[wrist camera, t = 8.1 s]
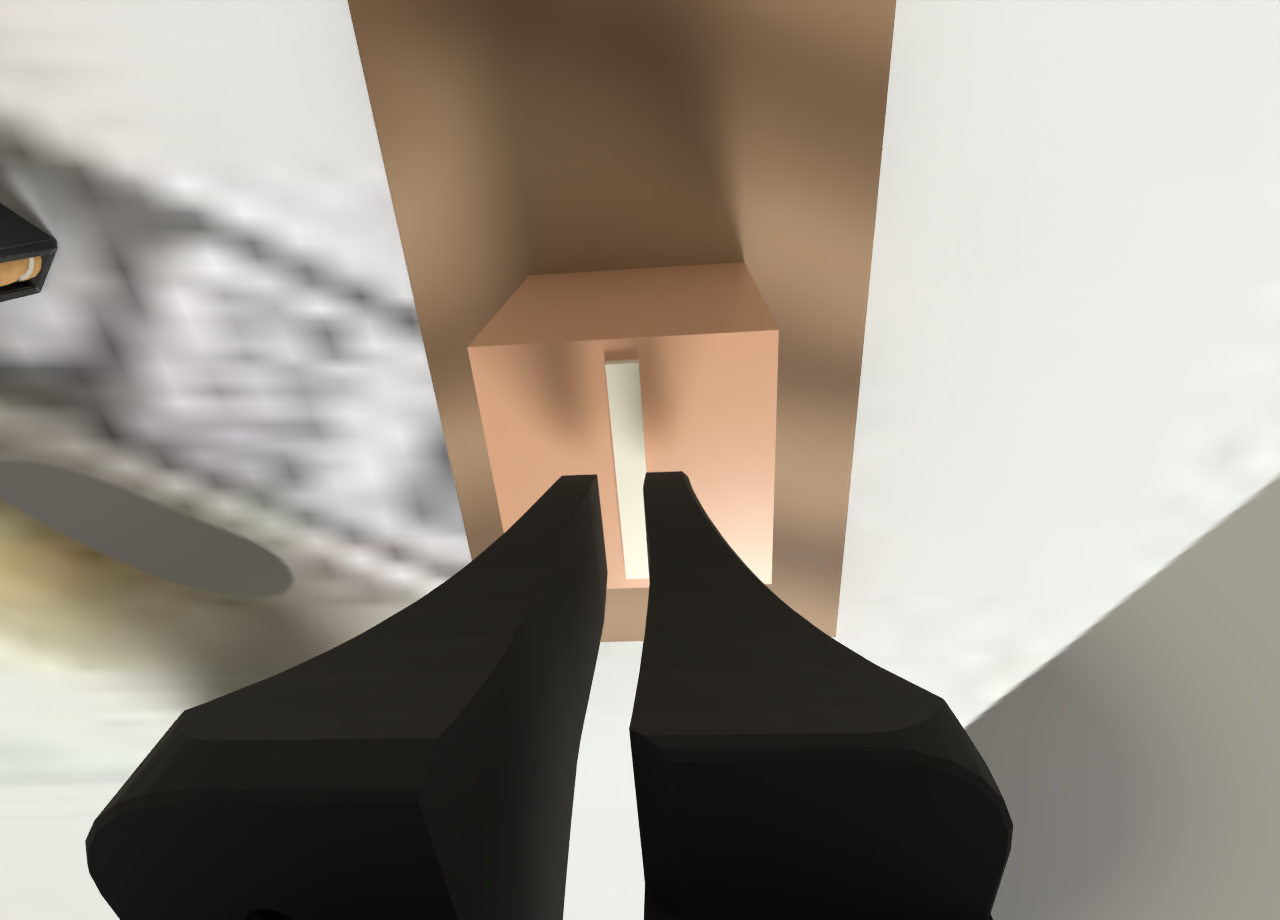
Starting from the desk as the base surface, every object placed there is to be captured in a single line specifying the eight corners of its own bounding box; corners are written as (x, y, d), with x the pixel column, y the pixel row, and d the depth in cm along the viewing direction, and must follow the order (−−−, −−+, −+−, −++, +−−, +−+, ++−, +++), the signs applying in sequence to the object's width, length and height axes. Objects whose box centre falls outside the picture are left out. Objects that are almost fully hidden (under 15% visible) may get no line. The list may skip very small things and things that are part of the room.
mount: (826, 607, 24) (866, 733, 19) (500, 615, 25) (458, 739, 20) (885, -96, 15) (993, -198, 10) (362, -49, 15) (221, -122, 11)
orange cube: (528, 275, 17) (464, 351, 12) (744, 261, 17) (780, 333, 11) (556, 463, 20) (513, 597, 14) (743, 455, 20) (772, 589, 14)
